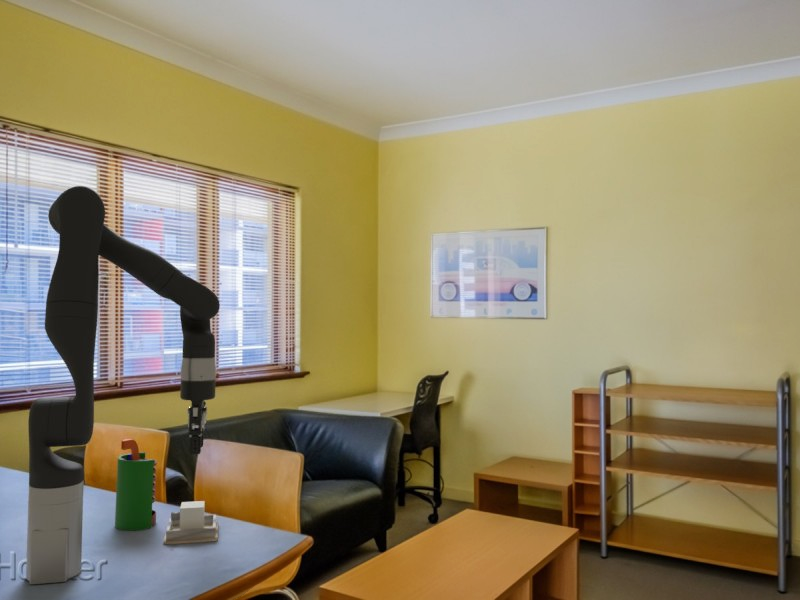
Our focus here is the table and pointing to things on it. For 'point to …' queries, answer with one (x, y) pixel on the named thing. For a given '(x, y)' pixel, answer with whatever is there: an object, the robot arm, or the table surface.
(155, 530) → the table surface
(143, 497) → the green cutaway cylinder
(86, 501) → the table surface
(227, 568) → the table surface
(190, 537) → the mount pocket
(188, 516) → the cream cube on peg
